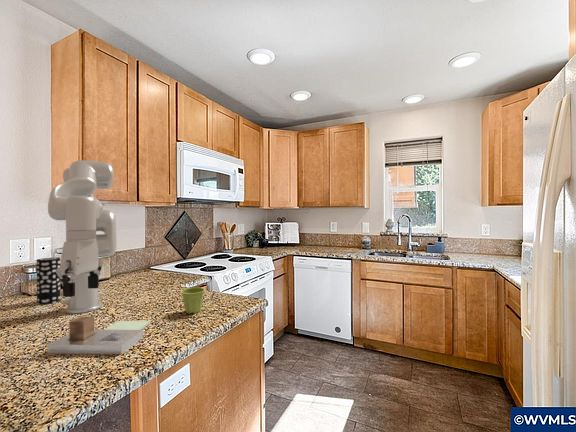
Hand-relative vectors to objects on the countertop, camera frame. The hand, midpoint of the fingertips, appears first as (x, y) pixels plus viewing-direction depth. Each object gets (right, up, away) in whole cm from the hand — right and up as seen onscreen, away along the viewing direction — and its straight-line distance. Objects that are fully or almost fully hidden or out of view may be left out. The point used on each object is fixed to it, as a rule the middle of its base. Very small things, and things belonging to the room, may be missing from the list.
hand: (81, 292), depth 87 cm
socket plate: (+5, -16, 0) cm, 17 cm away
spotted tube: (-48, -17, +44) cm, 67 cm away
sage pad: (+6, -16, +13) cm, 22 cm away
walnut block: (0, -16, 0) cm, 16 cm away
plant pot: (+24, -16, +31) cm, 42 cm away
